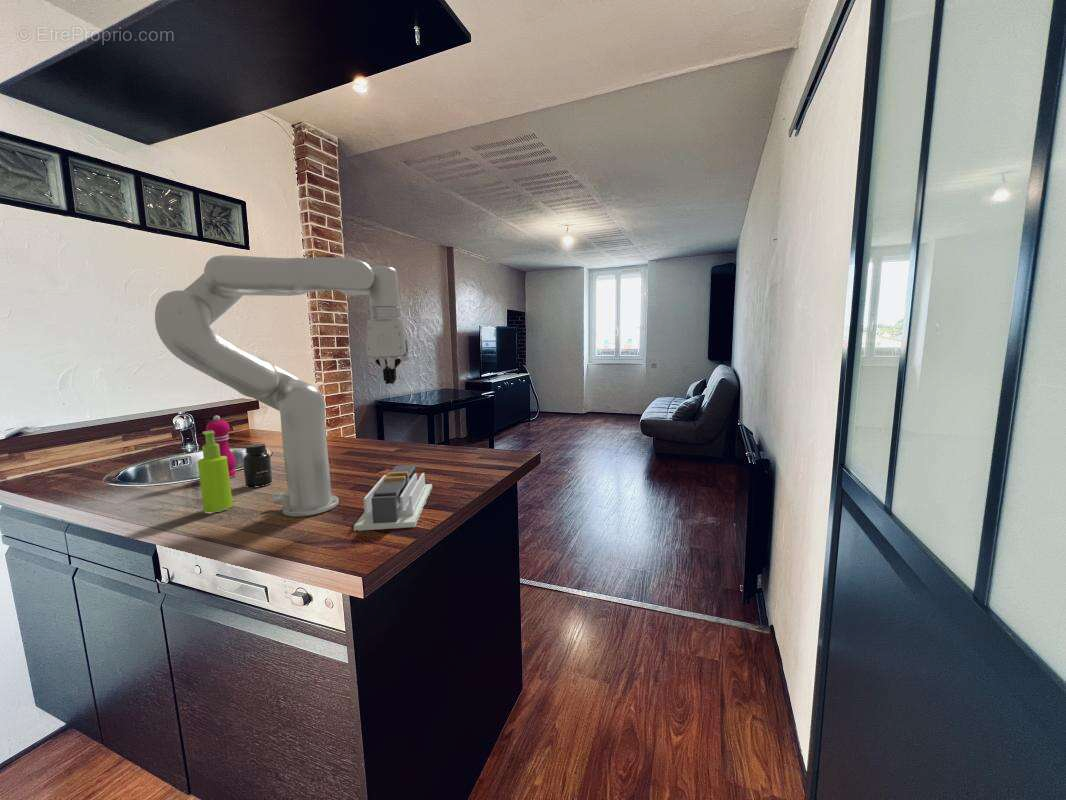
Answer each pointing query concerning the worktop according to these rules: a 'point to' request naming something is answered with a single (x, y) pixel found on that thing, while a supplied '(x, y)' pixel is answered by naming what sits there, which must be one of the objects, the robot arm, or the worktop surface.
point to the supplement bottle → (257, 466)
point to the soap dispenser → (214, 476)
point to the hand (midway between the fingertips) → (390, 383)
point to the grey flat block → (390, 486)
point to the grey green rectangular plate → (402, 471)
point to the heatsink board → (395, 506)
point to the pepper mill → (222, 441)
